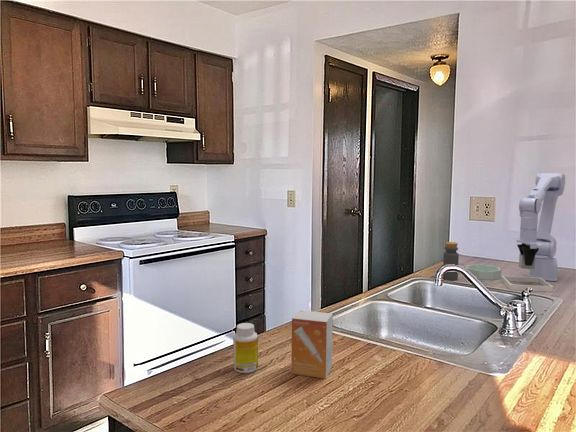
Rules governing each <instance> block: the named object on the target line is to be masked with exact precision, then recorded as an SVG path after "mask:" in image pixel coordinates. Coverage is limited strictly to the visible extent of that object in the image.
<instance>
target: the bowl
mask: <svg viewBox="0 0 576 432" xmlns="http://www.w3.org/2000/svg"><path fill="white" fill-rule="evenodd" d="M465 268H466V269H467V270H469V271H470V272H471V273H472V274H473V275H474V276H476V277H477V278H478V279H477V280H482V281H483V280H487V281H494V280H499V279H500V280H501V276H502V269H501V268H500V267H499V266H494V265H490V264H476V263H475V264H469V265H465V267H464V269H465Z"/></svg>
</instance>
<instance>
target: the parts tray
mask: <svg viewBox="0 0 576 432" xmlns="http://www.w3.org/2000/svg"><path fill="white" fill-rule="evenodd" d="M500 281H501V282H502V283H503V284H504V285H505V287H506V288H508V289H509V290H510V291H523V290H524V289H526V288H528V287H530V288H532V289H533V291H532V292H548V293H553V292H554V286H553V285H552V284H551V283H549V281H548V282H547V281H545V280H543V279H542V278H541V277H528V276H517V275H516V276H515V275H514V276H513V275H501V278H500ZM511 282H520V283H537V285H533V284H516V283H515V284H513V283H511ZM538 284H539V285H538Z"/></svg>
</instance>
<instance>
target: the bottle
mask: <svg viewBox="0 0 576 432" xmlns="http://www.w3.org/2000/svg"><path fill="white" fill-rule="evenodd" d="M458 244H459V243H458V242H456V241H455V242H453V241H447V242H445V246H444V250H445V252H443V257H442V258H443V260H442V261H443V263H442V264H443V265H445V264H455V265H458V266H459V252H457V251H458V250H459V248H458ZM458 277H459V272H458V273H457V272H447V273H445V274H444V275H443V274H442V279H443V280H446V281H453V282H454V281H457V280H459V279H458Z"/></svg>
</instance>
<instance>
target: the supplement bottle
mask: <svg viewBox="0 0 576 432" xmlns="http://www.w3.org/2000/svg"><path fill="white" fill-rule="evenodd" d="M258 337H259V336H258V333H257V332H256V331H255V325H254V324H253V323H250V322H242V323H239V324H236V332H235V333H234V334H233V337H232V339H233V343H232V344H233V345H232V347H233V369H234V370H235V372H237V373H240V374H250V373H253V372H255V371H257V369H258V367H259V343H258V342H259V340H258V339H259V338H258Z"/></svg>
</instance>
